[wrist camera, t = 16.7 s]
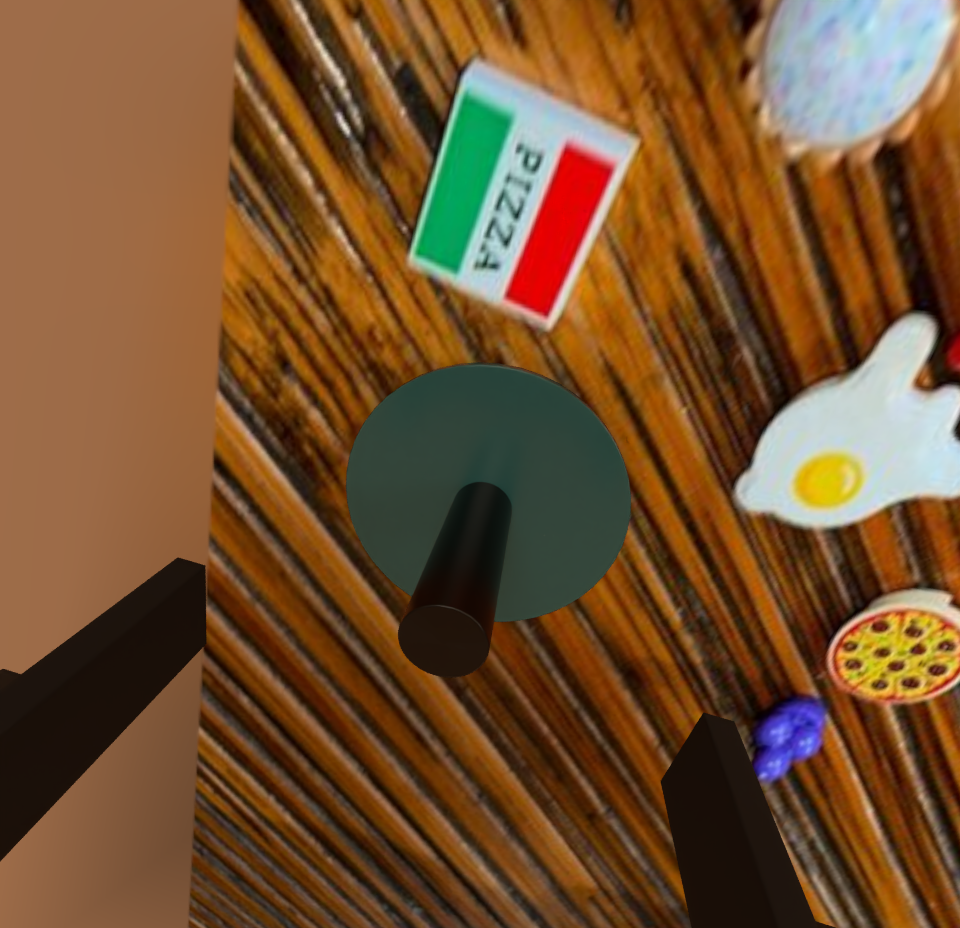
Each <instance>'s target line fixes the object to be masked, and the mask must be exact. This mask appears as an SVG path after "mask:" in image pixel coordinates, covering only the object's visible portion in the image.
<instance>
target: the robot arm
mask: <svg viewBox="0 0 960 928" xmlns="http://www.w3.org/2000/svg"><path fill="white" fill-rule="evenodd" d="M205 644H206V576H205V565H201V564H198V563H195V562H192V561H188V560H185V559H181V558H176V559H175V560H174V561H172V562H171V563H170V564H168V565H167V566H166V567H164V568H163V569H162V570H161V571H159V572H158V573H156V574H155V575H154V576H152V577H151V578H150V579H148V580H147V581H146V582H145V583H143V584H142V585H140V586H139V587H138V588H136V589H135V590H134V591H132V592H131V593H130V594H128V595H127V596H126V597H124V598H123V599H122V600H120V601H119V602H117V603H116V604H115V605H114V606H112V607H111V608H109V609H108V610H107V611H106V612H104V613H103V614H101V615H100V616H99V617H98V618H96V619H95V620H93V621H92V622H91V623H89V624H88V625H87V626H85V627H84V628H83V629H81V630H80V631H79V632H77V633H76V634H75V635H73V636H72V637H71V638H69V639H68V640H67V641H65V642H64V643H63V644H61V645H60V646H59V647H57V648H56V649H55V650H53V651H52V652H51V653H49V654H48V655H47V656H45V657H44V658H43V659H41V660H40V661H39V662H37V663H36V664H35V665H33V666H32V667H31V668H29V669H28V670H26V671H25V672H24V673H22V674H18V673H15V672H12V671H9V670H5V669H2V670H0V861H1V860H2V859H3V858H4V857H5V856H6V855H7V854H8V853H9V852H10V851H11V849H12V848H13V847H14V846H15V845H16V844H17V843H18V842H19V841H20V840H21V839H22V838H23V837H24V836H25V835H26V834H27V833H28V831H29V830H30V829H31V828H32V827H33V826H34V825H35V824H36V823H37V822H38V821H39V820H40V819H41V818H42V817H43V816H44V814H46V812H47V811H48V810H49V809H50V808H51V807H52V806H53V805H54V804H55V803H56V802H57V801H58V800H59V799H60V798H61V797H62V796H63V794H64V793H65V792H66V791H67V790H68V789H69V788H70V787H71V786H72V785H73V784H74V783H75V782H76V781H77V780H78V779H79V778H80V777H81V775H82V774H83V773H84V772H85V771H86V770H87V769H88V768H89V767H90V766H91V765H92V764H93V763H94V762H95V761H96V759H98V757H99V756H100V755H101V754H102V753H103V752H104V751H105V750H106V749H107V748H108V747H109V746H110V745H111V744H112V743H113V742H114V741H115V739H117V737H118V736H119V735H120V734H121V733H122V732H123V731H124V730H125V729H126V728H127V727H128V726H129V725H130V724H131V723H132V722H133V721H134V719H135V718H136V717H137V716H138V715H139V714H140V713H141V712H142V711H143V710H144V709H145V708H146V707H147V706H148V705H149V703H151V701H152V700H153V699H154V698H155V697H156V696H157V695H158V694H159V693H160V692H161V691H162V690H163V689H164V688H165V687H166V686H167V685H168V684H169V682H170V681H171V680H172V679H173V678H174V677H175V676H176V675H177V674H178V673H179V672H180V671H181V670H182V669H183V668H184V667H185V666H186V664H187V663H188V662H189V661H190V660H191V659H192V658H193V657H194V656H195V655H196V654H197V653H198V652H199V651H200V650H201V649H202V648H203V647H204V646H205ZM661 785H662V790H663V795H664V799H665V804H666V809H667V813H668V818H669V823H670V828H671V832H672V837H673V842H674V846H675V851H676V856H677V860H678V865H679V870H680V875H681V879H682V884H683V889H684V893H685V898H686V903H687V908H688V912H689V917H690V922H691V926H692V928H835V927H832V926H829V925H826V924H822V923H819V922H816V921H815V919H814V917H813V914H812V912H811V909H810V907H809V904H808V902H807V900H806V897H805V895H804V892H803V890H802V887H801V885H800V882H799V880H798V877H797V875H796V872H795V870H794V868H793V865H792V863H791V860H790V858H789V855H788V853H787V850H786V848H785V845H784V843H783V840H782V838H781V836H780V833H779V831H778V828H777V826H776V823H775V821H774V818H773V816H772V813H771V811H770V808H769V806H768V804H767V801H766V799H765V796H764V794H763V791H762V789H761V786H760V784H759V781H758V779H757V776H756V774H755V772H754V769H753V767H752V764H751V762H750V759H749V757H748V754H747V752H746V749H745V747H744V744H743V742H742V740H741V737H740V735H739V732H738V730H737V727H736V725H735V722H734V721H730V720H727V719H724V718H720V717H717V716H714V715H710V714H707V713H703V714H702V716H701V717H700V719H699V721H698V722H697V724H696V725H695V727H694V729H693V730H692V732H691V733H690V735H689V737H688V738H687V740H686V741H685V743H684V745H683V746H682V748H681V749H680V751H679V753H678V754H677V756H676V757H675V759H674V761H673V762H672V764H671V765H670V767H669V769H668V770H667V772H666V773H665V775H664V777H663V778H662V780H661Z"/></svg>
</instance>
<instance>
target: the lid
mask: <svg viewBox="0 0 960 928" xmlns="http://www.w3.org/2000/svg"><path fill="white" fill-rule="evenodd" d="M346 492H347V503H348V507H349V512H350V516H351V520H352V523H353V525H354V528H355V531H356V533H357V535H358V537H359V539H360V541H361V543H362V545H363V547H364V549H365V550H366V552H367V553H368V555H369V556H370V558H371V559H372V561H373V562H374V563H375V564H376V565H377V567H378V568H379V569H380V570H381V571H382V572H383V574H384V575H385V576H387V577H388V578H389V579H390V580H391V581H392V582H393V583H394V584H395V585H396V586H398V587H399V588H400V589H402V590H403V591H404V592H406V593H407V594H408V595H410V596H412V598H411V600H410V602H409V604H408V607H407V609H406V611H405V614H404V616H403V618H402V621H401V623H400V626H399V630H398V640H399V644H400V647H401V649H402V651H403V653H404V654H405V656H406V657H407V658H408V659H409V661H411V662H412V663H413V664H414V665H415V666H417V667H418V668H420V669H421V670H423V671H425V672H427V673H430V674H432V675H436V676H440V677H449V678H453V677H461V676H465V675H468V674H470V673H473V672H474V671H476V670H477V669H478V668H480V667H481V666H482V664H483V663H484V662H485V660H486V658H487V656H488V653H489V648H490V642H491V636H492V630H493V624H494V622H508V621H520V620H525V619H530V618H535V617H538V616H542V615H545V614H548V613H551V612H553V611H556V610H558V609H560V608H562V607H564V606H567V605H568V604H570V603H571V602H573V601H575V600H576V599H578V598H580V597H581V596H582V595H584V594H585V593H586V592H587V591H589V590H590V589H591V588H592V587H593V586H594V585H595V584H596V583H597V582H598V581H599V580H600V579H601V578H602V577H603V576H604V575H605V573H606V572H607V571H608V569H609V568H610V567H611V565H612V564H613V562H614V561H615V559H616V557H617V555H618V553H619V551H620V549H621V547H622V545H623V542H624V539H625V536H626V533H627V530H628V525H629V519H630V513H631V492H630V484H629V477H628V474H627V470H626V467H625V463H624V460H623V457H622V455H621V453H620V451H619V448H618V446H617V444H616V442H615V440H614V438H613V436H612V435H611V433H610V432H609V430H608V429H607V427H606V425H605V424H604V423H603V421H602V420H601V419H600V418H599V417H598V416H597V414H596V413H595V412H594V411H593V410H592V409H591V408H590V407H589V406H588V405H587V404H586V403H585V402H584V401H582V400H581V399H580V398H579V397H578V396H577V395H575V394H574V393H572V392H571V391H569V390H568V389H566V388H565V387H563V386H562V385H560V384H559V383H557V382H555V381H553V380H551V379H549V378H547V377H545V376H543V375H541V374H538V373H535V372H532V371H529V370H526V369H523V368H519V367H514V366H509V365H504V364H496V363H480V362H479V363H465V364H457V365H452V366H447V367H442V368H438V369H436V370H433V371H430V372H427V373H425V374H422V375H420V376H418V377H416V378H414V379H412V380H410V381H409V382H407V383H405V384H403V385H402V386H401V387H399V388H398V389H397V390H395V391H394V392H392V393H391V394H390V395H388V396H387V397H386V398H385V399H384V400H383V401H382V402H381V403H380V404H379V405H378V406H377V407H376V408H375V409H374V410H373V412H372V413H371V414H370V416H369V417H368V418H367V420H366V421H365V422H364V424H363V426H362V427H361V429H360V431H359V433H358V435H357V437H356V439H355V442H354V444H353V447H352V450H351V453H350V457H349V462H348V467H347V478H346Z"/></svg>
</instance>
